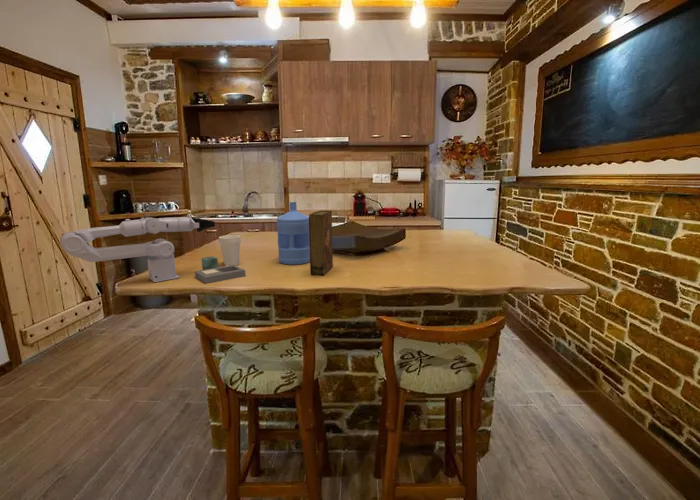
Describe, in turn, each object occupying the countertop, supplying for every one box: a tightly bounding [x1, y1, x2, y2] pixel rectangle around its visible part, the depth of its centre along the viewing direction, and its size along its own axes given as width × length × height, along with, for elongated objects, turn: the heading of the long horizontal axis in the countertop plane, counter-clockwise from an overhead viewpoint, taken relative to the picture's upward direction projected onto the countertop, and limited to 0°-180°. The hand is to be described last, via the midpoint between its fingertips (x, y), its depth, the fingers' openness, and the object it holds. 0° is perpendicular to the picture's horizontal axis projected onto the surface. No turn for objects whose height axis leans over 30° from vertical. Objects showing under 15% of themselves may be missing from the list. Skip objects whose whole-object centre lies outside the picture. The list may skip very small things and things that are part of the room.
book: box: [308, 210, 334, 276], centre depth 151 cm, size 16×6×25 cm, turn 168°
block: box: [200, 256, 219, 270], centre depth 153 cm, size 5×5×6 cm
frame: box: [194, 265, 246, 284], centre depth 146 cm, size 16×12×3 cm
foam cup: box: [218, 234, 242, 266], centre depth 165 cm, size 10×9×13 cm
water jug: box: [276, 201, 310, 266], centre depth 168 cm, size 16×16×28 cm
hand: (211, 223), depth 153 cm, fingers open, 7 cm apart
